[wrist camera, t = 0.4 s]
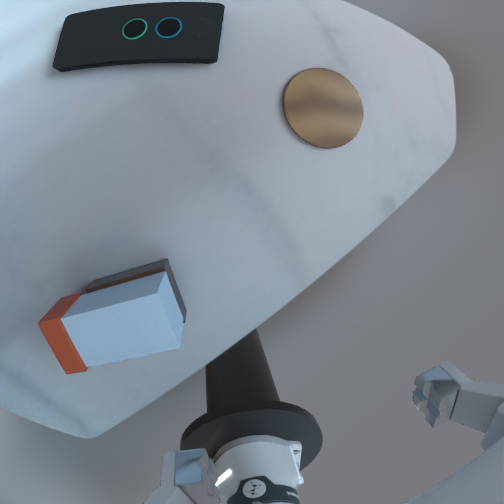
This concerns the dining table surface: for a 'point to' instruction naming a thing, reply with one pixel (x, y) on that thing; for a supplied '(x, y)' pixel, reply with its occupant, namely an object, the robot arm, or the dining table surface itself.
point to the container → (114, 323)
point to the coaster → (323, 108)
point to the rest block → (139, 273)
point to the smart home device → (140, 35)
